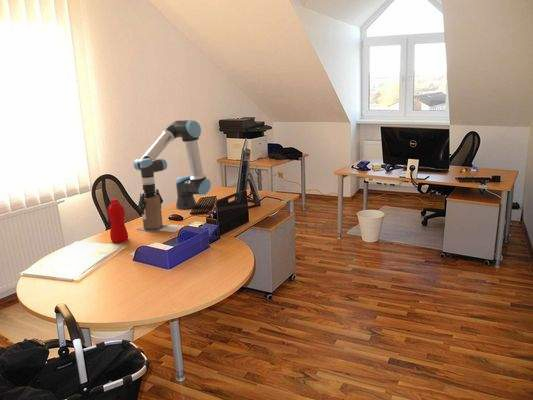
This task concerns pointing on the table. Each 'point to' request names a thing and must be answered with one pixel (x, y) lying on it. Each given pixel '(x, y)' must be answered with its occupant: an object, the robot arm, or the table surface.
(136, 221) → the table surface
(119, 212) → the water bottle
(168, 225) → the tile
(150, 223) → the block
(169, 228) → the mat
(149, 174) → the robot arm
